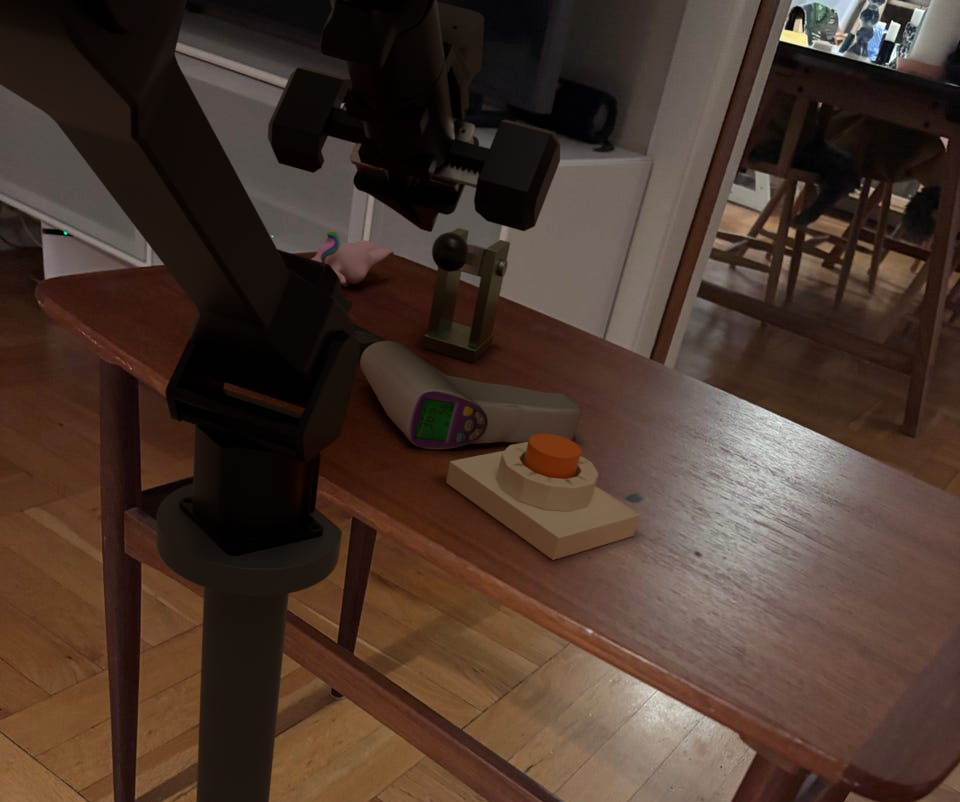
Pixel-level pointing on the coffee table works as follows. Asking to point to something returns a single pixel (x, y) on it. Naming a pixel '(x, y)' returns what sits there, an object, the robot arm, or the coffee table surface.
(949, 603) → the coffee table surface
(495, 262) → the switch bracket
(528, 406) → the infrared thermometer
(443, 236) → the switch lever
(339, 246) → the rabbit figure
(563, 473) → the button
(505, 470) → the button box
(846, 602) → the coffee table surface
